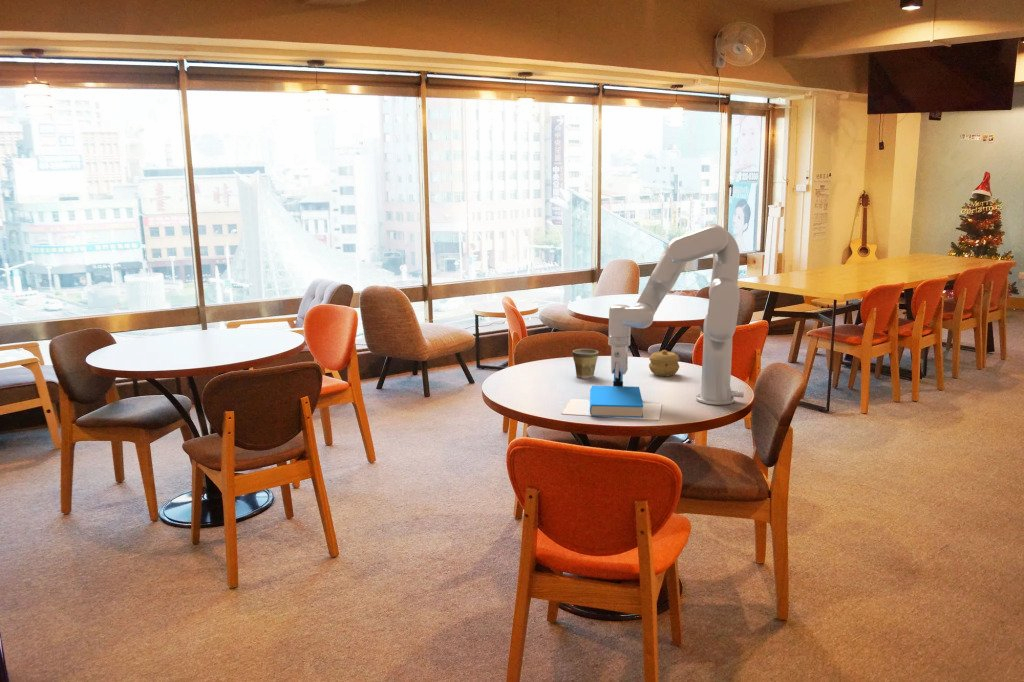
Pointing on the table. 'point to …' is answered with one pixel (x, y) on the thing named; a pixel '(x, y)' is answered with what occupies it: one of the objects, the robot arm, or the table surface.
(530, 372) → the table surface
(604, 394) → the book
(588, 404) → the mat
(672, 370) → the pot
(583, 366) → the ceramic cup
